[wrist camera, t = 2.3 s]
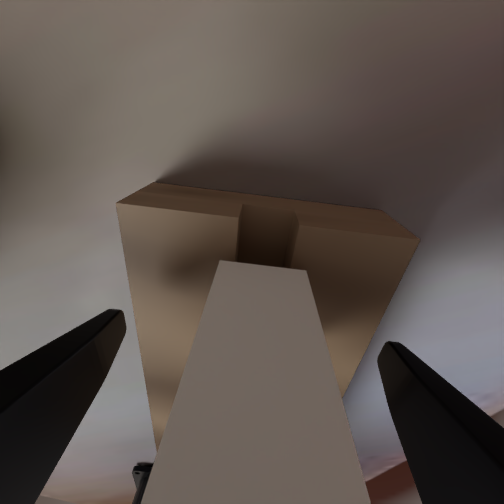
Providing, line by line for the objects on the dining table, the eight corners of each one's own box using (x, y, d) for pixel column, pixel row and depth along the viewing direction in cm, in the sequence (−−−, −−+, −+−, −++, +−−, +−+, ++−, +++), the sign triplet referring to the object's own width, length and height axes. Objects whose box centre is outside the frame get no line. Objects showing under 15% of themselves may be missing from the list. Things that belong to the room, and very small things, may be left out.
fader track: (291, 444, 21) (295, 496, 18) (174, 432, 20) (160, 481, 18) (381, 210, 11) (424, 242, 8) (153, 182, 10) (112, 205, 8)
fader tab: (283, 323, 12) (307, 591, 5) (220, 315, 12) (162, 576, 5) (300, 249, 10) (377, 528, 3) (226, 241, 10) (141, 502, 3)
